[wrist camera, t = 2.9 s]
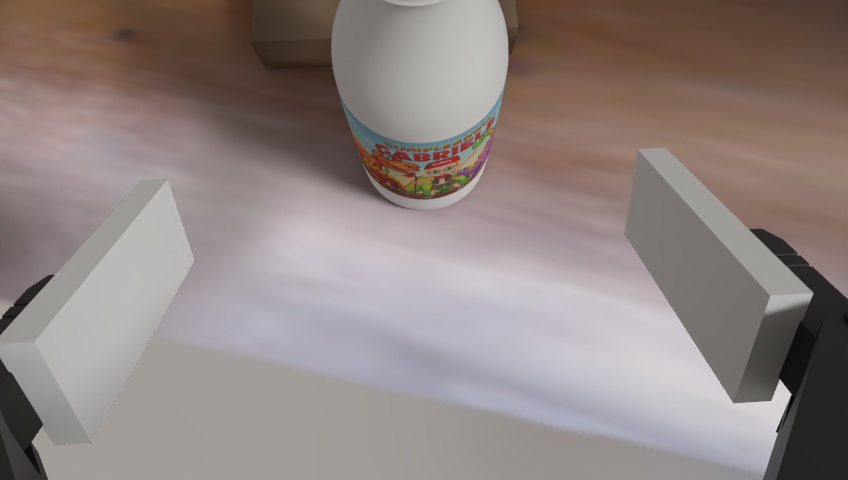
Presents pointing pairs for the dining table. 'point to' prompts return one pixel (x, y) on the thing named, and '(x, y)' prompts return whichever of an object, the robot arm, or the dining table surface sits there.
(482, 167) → the milk bottle
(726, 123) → the dining table surface
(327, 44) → the brown flat block
